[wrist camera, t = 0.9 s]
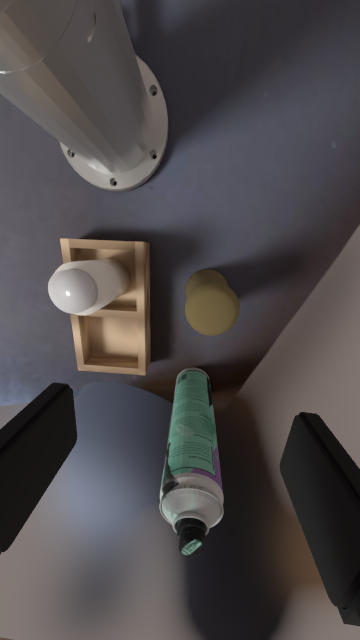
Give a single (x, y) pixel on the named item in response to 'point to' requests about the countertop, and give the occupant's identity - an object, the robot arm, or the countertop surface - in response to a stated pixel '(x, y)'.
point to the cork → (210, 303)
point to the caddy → (114, 311)
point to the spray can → (192, 464)
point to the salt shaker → (88, 285)
